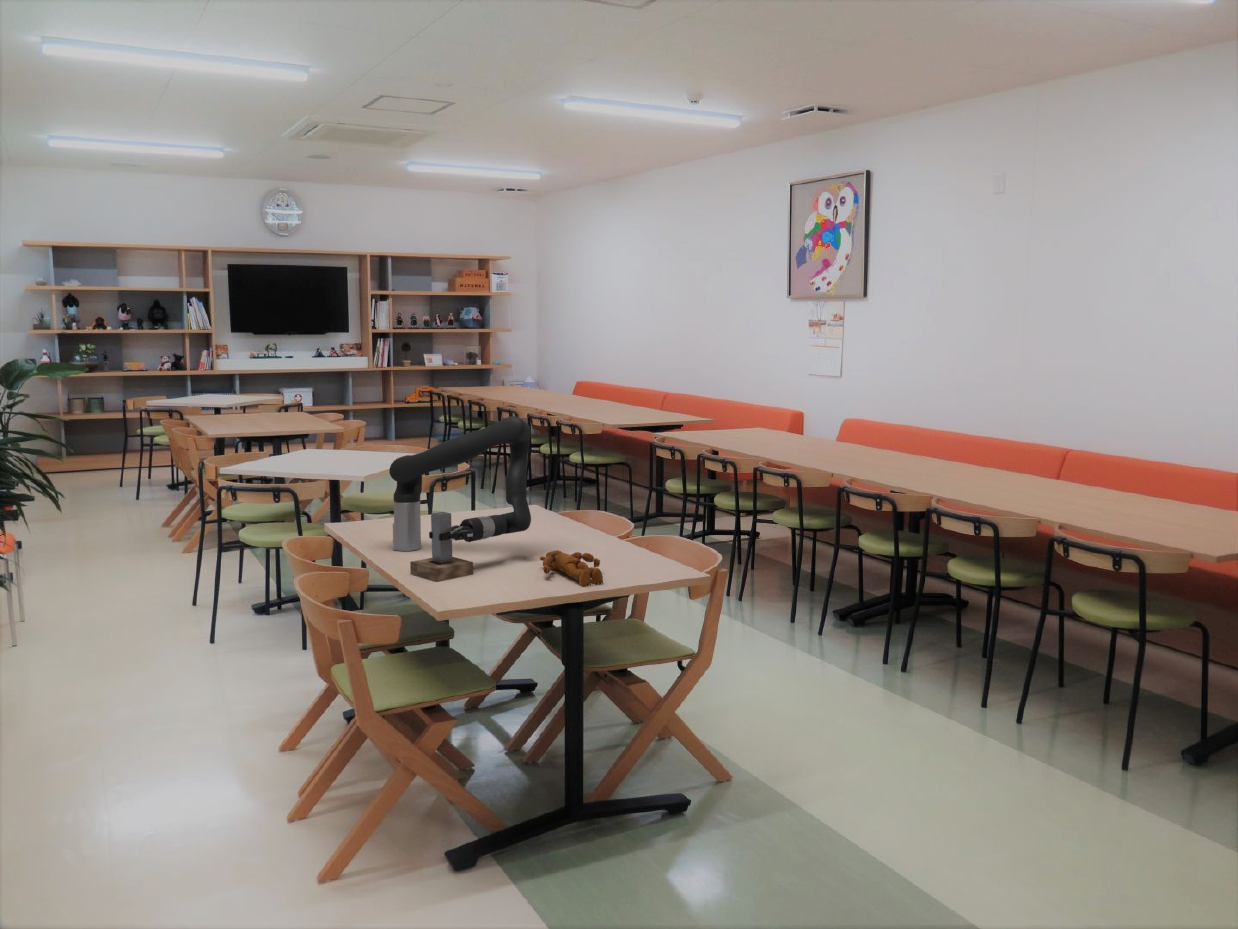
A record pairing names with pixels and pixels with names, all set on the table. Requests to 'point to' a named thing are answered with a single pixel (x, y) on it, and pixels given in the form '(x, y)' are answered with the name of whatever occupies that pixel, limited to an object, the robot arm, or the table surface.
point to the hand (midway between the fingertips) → (434, 536)
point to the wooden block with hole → (441, 569)
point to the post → (439, 548)
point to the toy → (574, 566)
